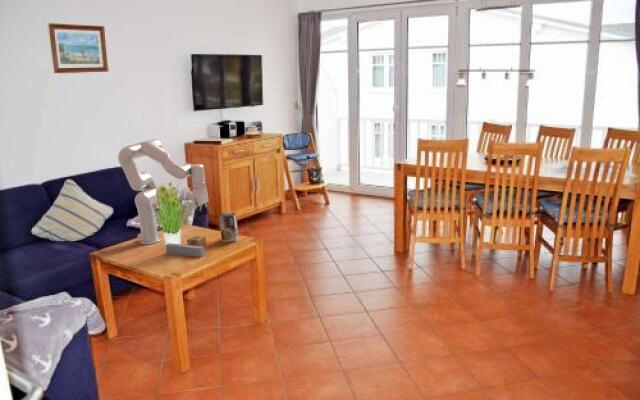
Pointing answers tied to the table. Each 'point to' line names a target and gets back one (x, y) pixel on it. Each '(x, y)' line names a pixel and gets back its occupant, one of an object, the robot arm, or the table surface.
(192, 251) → the slate rail
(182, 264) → the table surface
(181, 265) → the table surface
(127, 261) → the table surface
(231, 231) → the coffee box
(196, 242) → the walnut block
